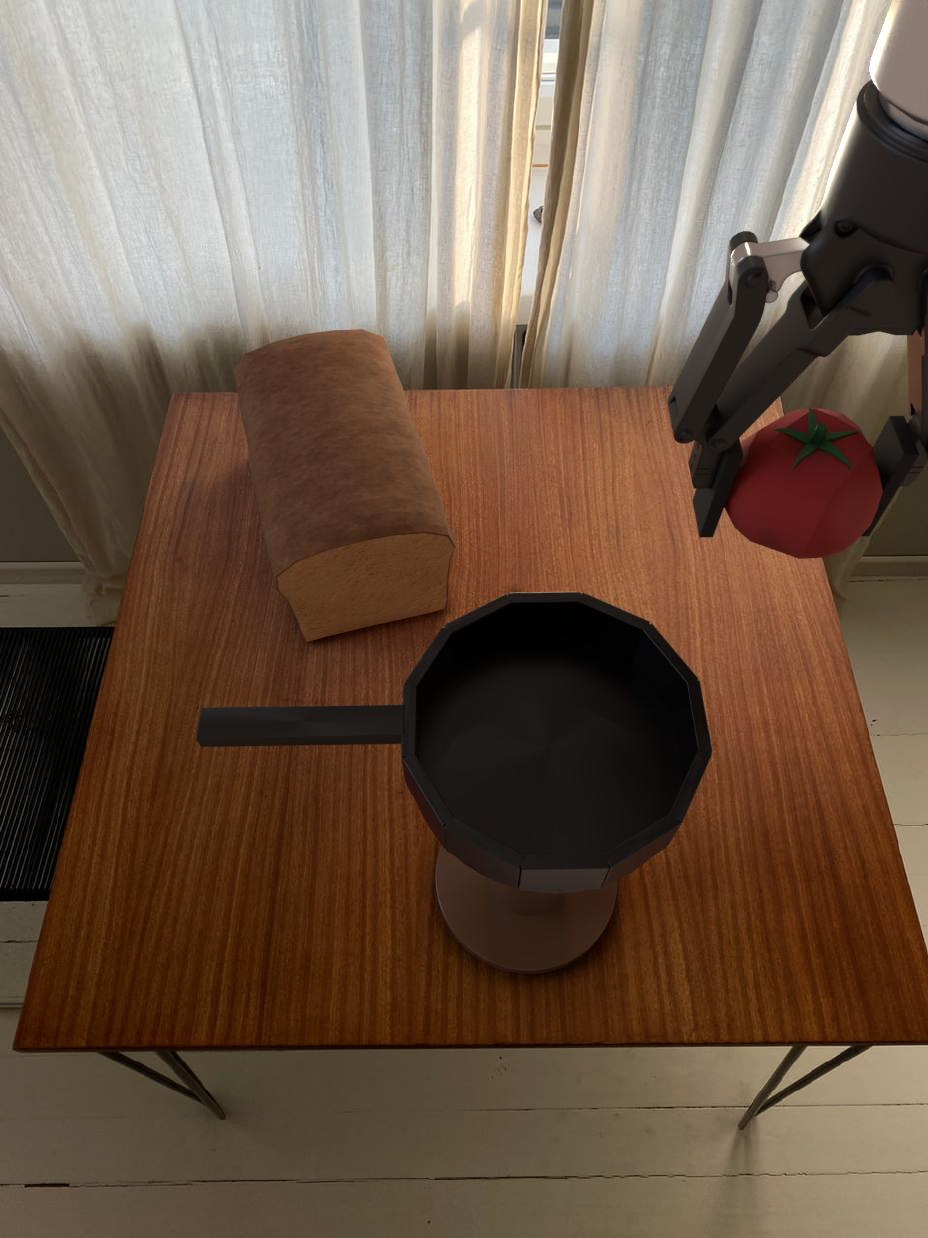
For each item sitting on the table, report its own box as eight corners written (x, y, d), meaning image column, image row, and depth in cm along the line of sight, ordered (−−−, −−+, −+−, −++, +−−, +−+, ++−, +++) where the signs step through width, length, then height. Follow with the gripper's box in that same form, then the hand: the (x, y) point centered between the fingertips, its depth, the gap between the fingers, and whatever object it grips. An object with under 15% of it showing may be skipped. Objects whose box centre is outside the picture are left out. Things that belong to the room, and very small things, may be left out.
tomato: (688, 530, 49) (718, 437, 43) (759, 450, 53) (795, 354, 47) (817, 604, 46) (868, 516, 40) (884, 514, 50) (939, 421, 44)
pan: (635, 983, 73) (733, 866, 46) (285, 988, 73) (172, 875, 46) (613, 785, 83) (683, 589, 55) (303, 790, 83) (219, 596, 55)
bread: (293, 650, 91) (261, 558, 78) (253, 447, 107) (221, 341, 93) (460, 610, 94) (458, 514, 80) (397, 418, 109) (386, 310, 96)
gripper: (1221, 44, 32) (943, 467, 51) (660, 49, 32) (590, 470, 52) (1332, 155, 28) (985, 570, 47) (689, 160, 28) (601, 572, 47)
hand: (779, 517), depth 49 cm, fingers closed on tomato, 8 cm apart
